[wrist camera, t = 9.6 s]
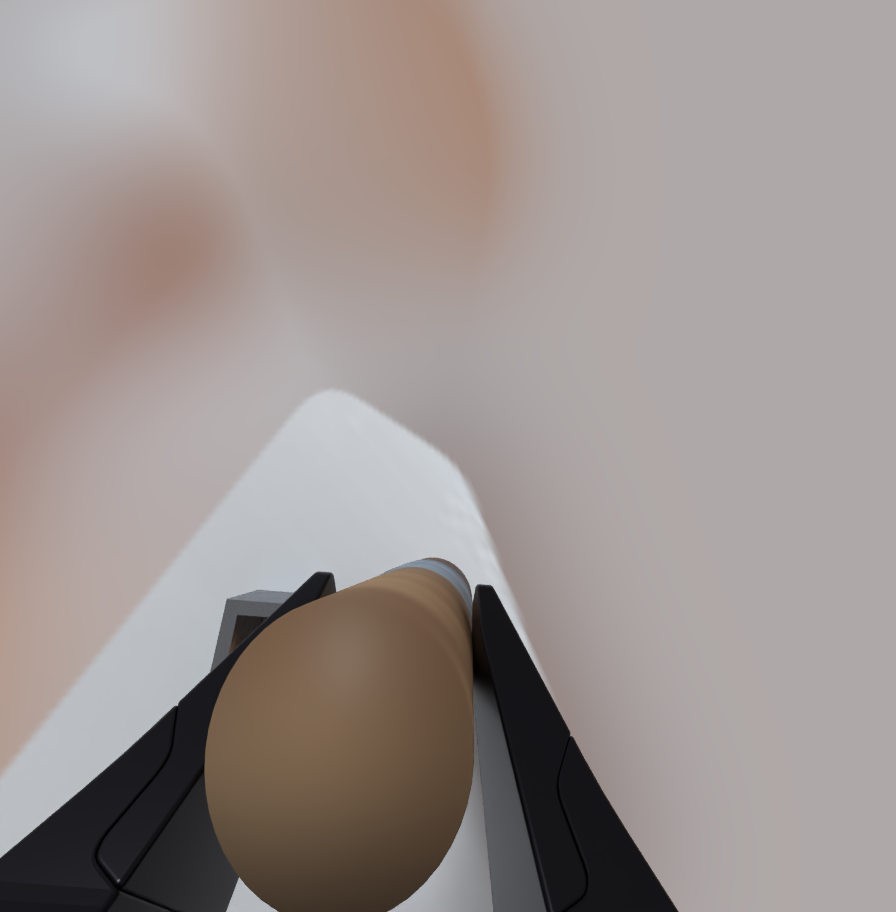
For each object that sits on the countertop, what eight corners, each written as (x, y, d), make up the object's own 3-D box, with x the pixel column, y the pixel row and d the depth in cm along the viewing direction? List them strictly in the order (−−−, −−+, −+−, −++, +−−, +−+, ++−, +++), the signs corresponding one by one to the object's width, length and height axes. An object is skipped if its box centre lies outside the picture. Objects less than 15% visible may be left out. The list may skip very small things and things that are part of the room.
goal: (300, 737, 18) (274, 775, 15) (228, 732, 18) (188, 769, 15) (323, 595, 20) (303, 605, 17) (257, 589, 20) (226, 598, 17)
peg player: (471, 647, 14) (470, 955, 4) (388, 640, 15) (168, 905, 4) (474, 559, 15) (483, 603, 5) (396, 553, 16) (235, 583, 5)
